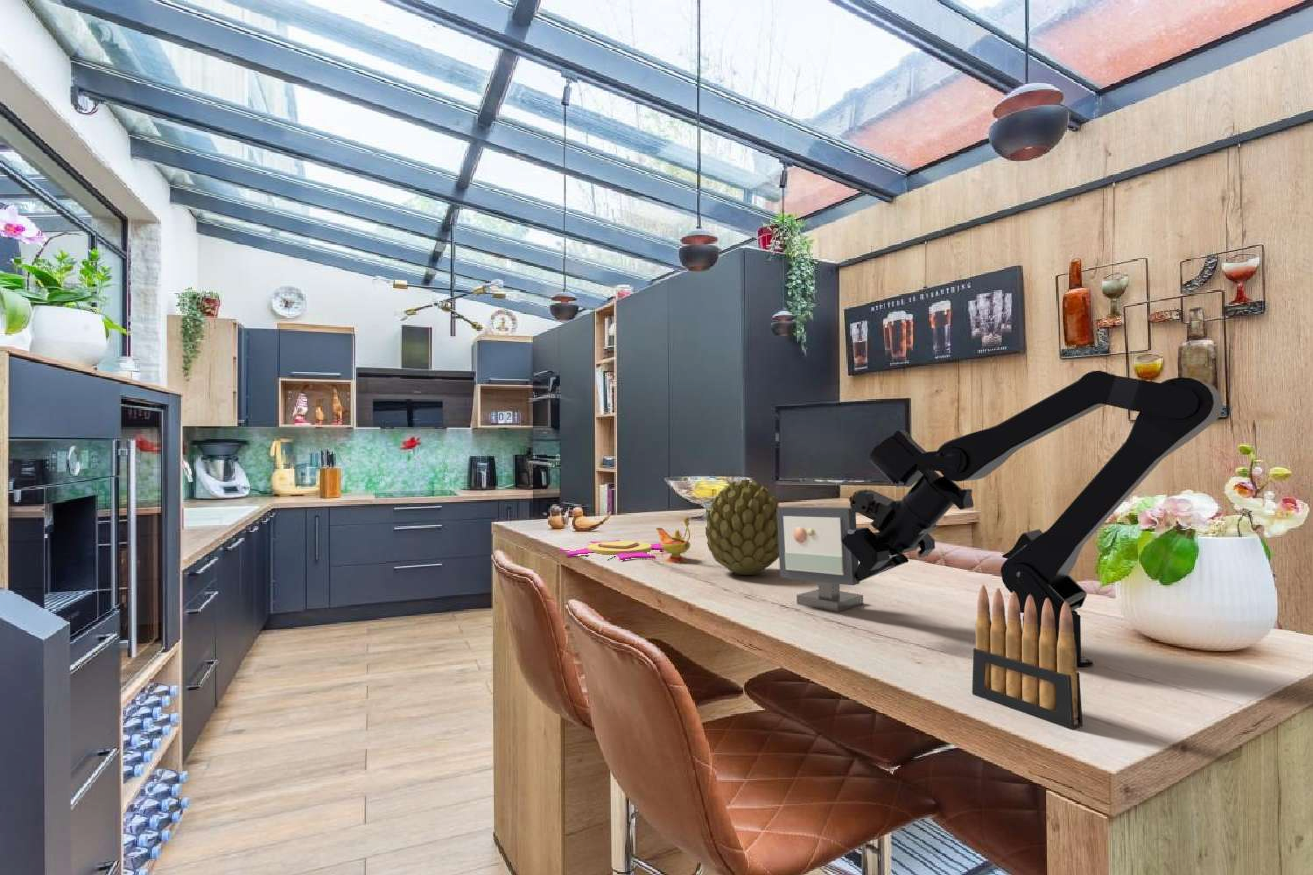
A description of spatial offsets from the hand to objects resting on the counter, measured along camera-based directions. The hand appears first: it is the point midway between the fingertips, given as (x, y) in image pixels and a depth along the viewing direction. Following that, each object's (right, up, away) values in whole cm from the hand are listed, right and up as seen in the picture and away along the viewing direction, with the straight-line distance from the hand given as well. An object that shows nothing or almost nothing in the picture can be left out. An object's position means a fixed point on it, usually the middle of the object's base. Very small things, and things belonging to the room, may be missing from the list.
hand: (857, 578), depth 105 cm
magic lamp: (-28, -7, +55) cm, 62 cm away
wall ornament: (-41, -8, +69) cm, 81 cm away
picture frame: (-5, -1, +5) cm, 7 cm away
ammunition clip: (+6, -6, -36) cm, 37 cm away
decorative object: (-13, -7, +37) cm, 40 cm away
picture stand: (-2, -6, +10) cm, 12 cm away
